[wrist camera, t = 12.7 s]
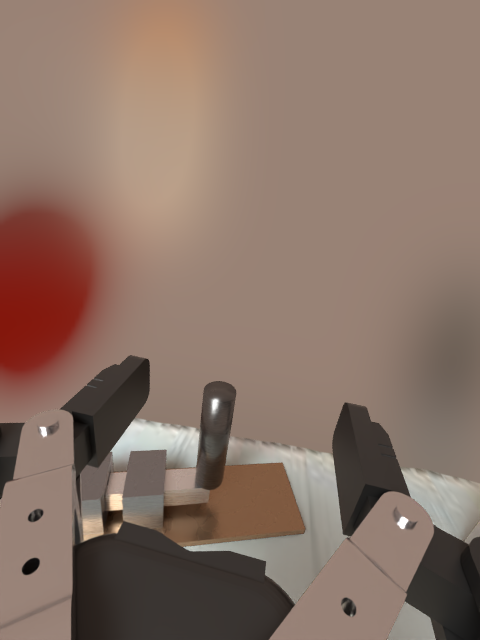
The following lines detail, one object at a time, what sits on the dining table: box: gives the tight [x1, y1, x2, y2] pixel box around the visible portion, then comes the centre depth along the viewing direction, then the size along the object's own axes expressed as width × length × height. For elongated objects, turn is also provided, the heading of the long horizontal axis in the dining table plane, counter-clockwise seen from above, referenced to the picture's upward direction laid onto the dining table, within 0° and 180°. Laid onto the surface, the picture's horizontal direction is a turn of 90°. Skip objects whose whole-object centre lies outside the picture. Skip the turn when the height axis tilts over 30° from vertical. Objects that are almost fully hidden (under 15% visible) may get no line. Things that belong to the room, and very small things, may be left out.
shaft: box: [104, 381, 236, 511], centre depth 31 cm, size 17×3×15 cm, turn 100°
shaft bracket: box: [80, 450, 305, 547], centre depth 35 cm, size 28×9×6 cm, turn 100°
